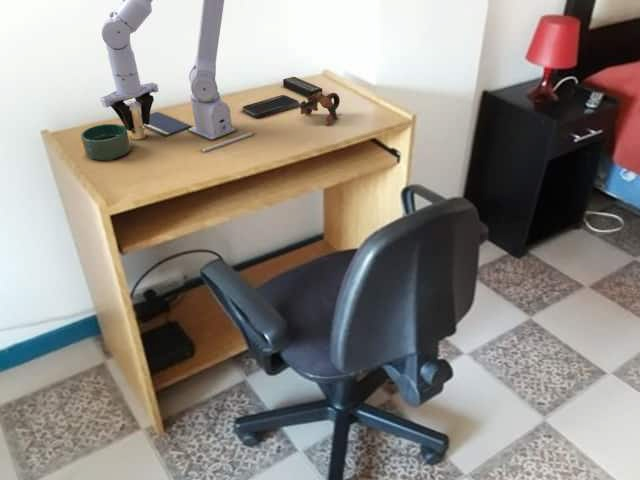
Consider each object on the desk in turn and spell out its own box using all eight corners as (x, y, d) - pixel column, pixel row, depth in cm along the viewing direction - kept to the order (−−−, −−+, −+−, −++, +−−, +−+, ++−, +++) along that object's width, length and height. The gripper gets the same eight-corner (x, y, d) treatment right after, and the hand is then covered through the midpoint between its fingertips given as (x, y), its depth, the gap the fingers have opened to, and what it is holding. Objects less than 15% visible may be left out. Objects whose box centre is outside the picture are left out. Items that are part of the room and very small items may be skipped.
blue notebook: (191, 127, 154) (190, 125, 153) (165, 136, 149) (165, 134, 148) (157, 113, 161) (157, 111, 161) (132, 121, 156) (131, 119, 156)
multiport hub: (294, 83, 182) (294, 76, 180) (323, 96, 173) (322, 88, 172) (282, 86, 179) (282, 79, 178) (311, 99, 171) (311, 91, 169)
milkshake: (145, 141, 146) (137, 102, 140) (125, 139, 147) (117, 100, 141) (154, 135, 149) (146, 96, 144) (135, 132, 150) (127, 94, 144)
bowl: (140, 151, 141) (135, 131, 138) (101, 165, 135) (95, 145, 132) (116, 140, 147) (111, 120, 143) (78, 153, 140) (72, 133, 137)
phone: (240, 107, 162) (283, 94, 170) (241, 110, 163) (283, 98, 171) (257, 114, 157) (300, 101, 166) (257, 118, 158) (300, 105, 166)
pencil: (254, 133, 150) (204, 151, 141) (253, 135, 150) (204, 153, 142) (252, 131, 150) (202, 148, 141) (251, 133, 150) (202, 150, 142)
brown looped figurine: (324, 131, 153) (307, 103, 150) (305, 136, 161) (289, 109, 157) (353, 108, 158) (338, 80, 155) (334, 113, 166) (319, 87, 163)
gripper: (141, 62, 145) (152, 114, 153) (88, 76, 136) (102, 131, 144) (158, 68, 141) (169, 121, 149) (104, 83, 132) (118, 138, 140)
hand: (137, 126), depth 146 cm, fingers closed on milkshake, 4 cm apart
